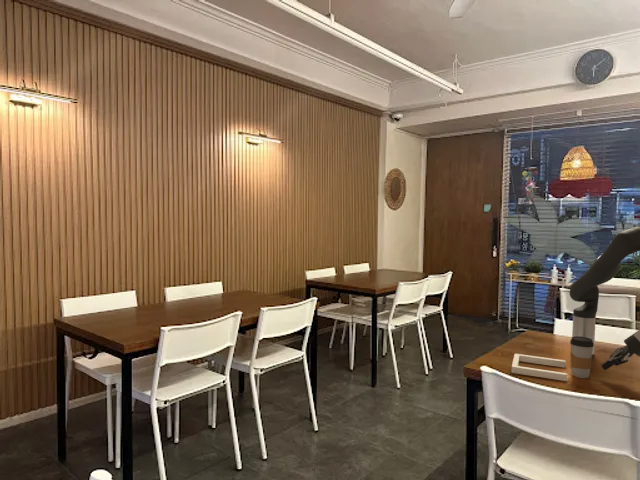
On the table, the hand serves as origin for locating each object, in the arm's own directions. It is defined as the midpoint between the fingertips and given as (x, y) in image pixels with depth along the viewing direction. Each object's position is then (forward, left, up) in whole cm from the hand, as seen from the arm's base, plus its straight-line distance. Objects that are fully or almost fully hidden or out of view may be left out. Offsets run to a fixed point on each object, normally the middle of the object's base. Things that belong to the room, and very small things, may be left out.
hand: (602, 367), depth 182 cm
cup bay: (0, -24, -4) cm, 24 cm away
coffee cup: (0, -8, -5) cm, 9 cm away
